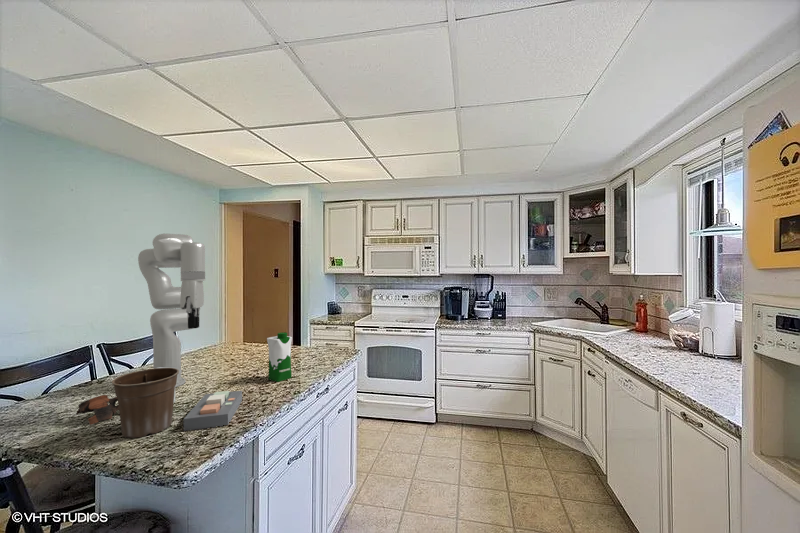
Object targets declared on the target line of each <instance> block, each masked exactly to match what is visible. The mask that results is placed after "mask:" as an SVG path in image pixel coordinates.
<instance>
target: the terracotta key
mask: <svg viewBox="0 0 800 533" xmlns="http://www.w3.org/2000/svg"><path fill="white" fill-rule="evenodd" d="M219 410H220V404H210V405H204V407H203V408H202V409H201V410H200V415H203V414H212V413H218V411H219Z"/></svg>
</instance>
